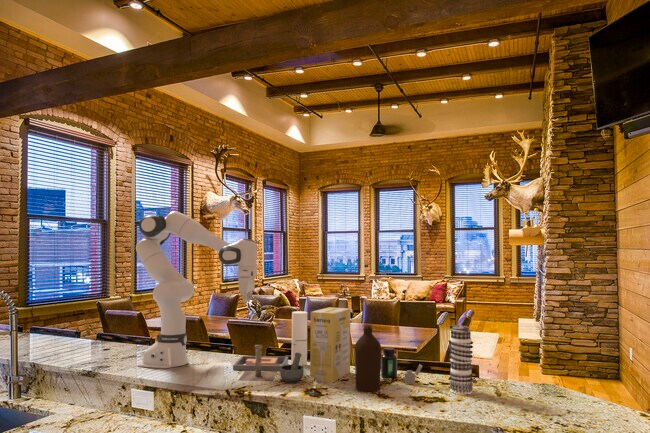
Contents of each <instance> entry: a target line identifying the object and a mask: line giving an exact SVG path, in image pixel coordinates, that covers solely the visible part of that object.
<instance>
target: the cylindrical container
mask: <svg viewBox="0 0 650 433" xmlns="http://www.w3.org/2000/svg"><path fill="white" fill-rule="evenodd" d="M295 353H300V354H302V355H301V357H300V362H299V365H300V366H303V367H304V366H307V365H308V360H307V359H308V311H303V310H302V311H301V310H299V311H297V310H296V311H292V312H291V362H290V363H291V364H290V365H292V364H293V361H294V358H295Z"/></svg>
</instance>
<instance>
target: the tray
mask: <svg viewBox="0 0 650 433" xmlns="http://www.w3.org/2000/svg"><path fill="white" fill-rule="evenodd" d="M261 358H278V365H261V372H280V367H281V366H284V365H289V357H288V356H279V355H277V356H275V355H273V356H272V355H271V356H270V355H261ZM247 359H256V355H241V356H240V357H239V358H238V359H237V361H235V362H234V364H233V365H232V370H233V371H255V365H246V360H247Z"/></svg>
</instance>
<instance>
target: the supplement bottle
mask: <svg viewBox="0 0 650 433" xmlns="http://www.w3.org/2000/svg"><path fill="white" fill-rule="evenodd" d="M395 351H396V350H395V348H394V347H383V351H382V354H381V371H380V378H382V377H383V379H385V378H395V379H397V378H398V357H397V355H396V354H395Z"/></svg>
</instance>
